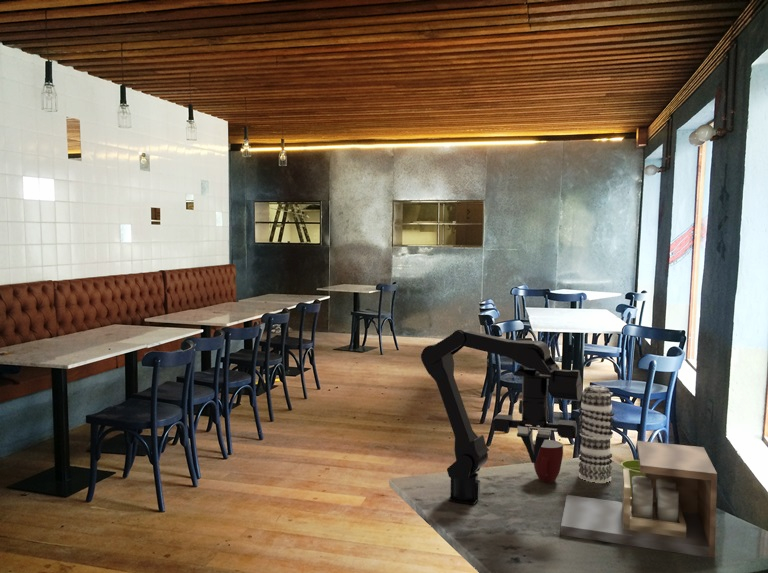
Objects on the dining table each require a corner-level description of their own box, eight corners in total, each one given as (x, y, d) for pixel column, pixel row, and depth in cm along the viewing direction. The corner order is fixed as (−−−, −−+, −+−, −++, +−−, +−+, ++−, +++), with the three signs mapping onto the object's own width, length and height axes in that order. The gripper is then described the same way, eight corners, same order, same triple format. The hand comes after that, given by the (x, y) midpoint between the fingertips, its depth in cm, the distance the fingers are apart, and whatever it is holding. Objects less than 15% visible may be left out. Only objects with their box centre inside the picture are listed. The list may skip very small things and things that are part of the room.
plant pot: (641, 510, 147) (642, 474, 147) (611, 496, 155) (612, 462, 155) (670, 504, 151) (670, 469, 150) (639, 491, 159) (640, 457, 159)
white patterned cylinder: (572, 479, 168) (574, 387, 167) (582, 470, 175) (584, 382, 174) (607, 486, 163) (609, 391, 162) (616, 476, 170) (618, 386, 169)
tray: (623, 528, 132) (624, 487, 131) (622, 506, 144) (623, 468, 143) (686, 537, 127) (687, 494, 127) (679, 514, 140) (680, 474, 139)
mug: (562, 490, 159) (563, 451, 159) (530, 486, 162) (530, 449, 161) (562, 476, 170) (563, 440, 169) (532, 473, 172) (532, 438, 171)
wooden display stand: (560, 534, 133) (562, 456, 132) (566, 503, 151) (568, 434, 150) (714, 558, 123) (717, 473, 122) (701, 521, 141) (703, 447, 140)
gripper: (578, 392, 148) (577, 457, 148) (500, 386, 154) (499, 448, 155) (576, 402, 137) (574, 471, 138) (492, 395, 144) (491, 461, 144)
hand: (533, 462), depth 144 cm, fingers closed
